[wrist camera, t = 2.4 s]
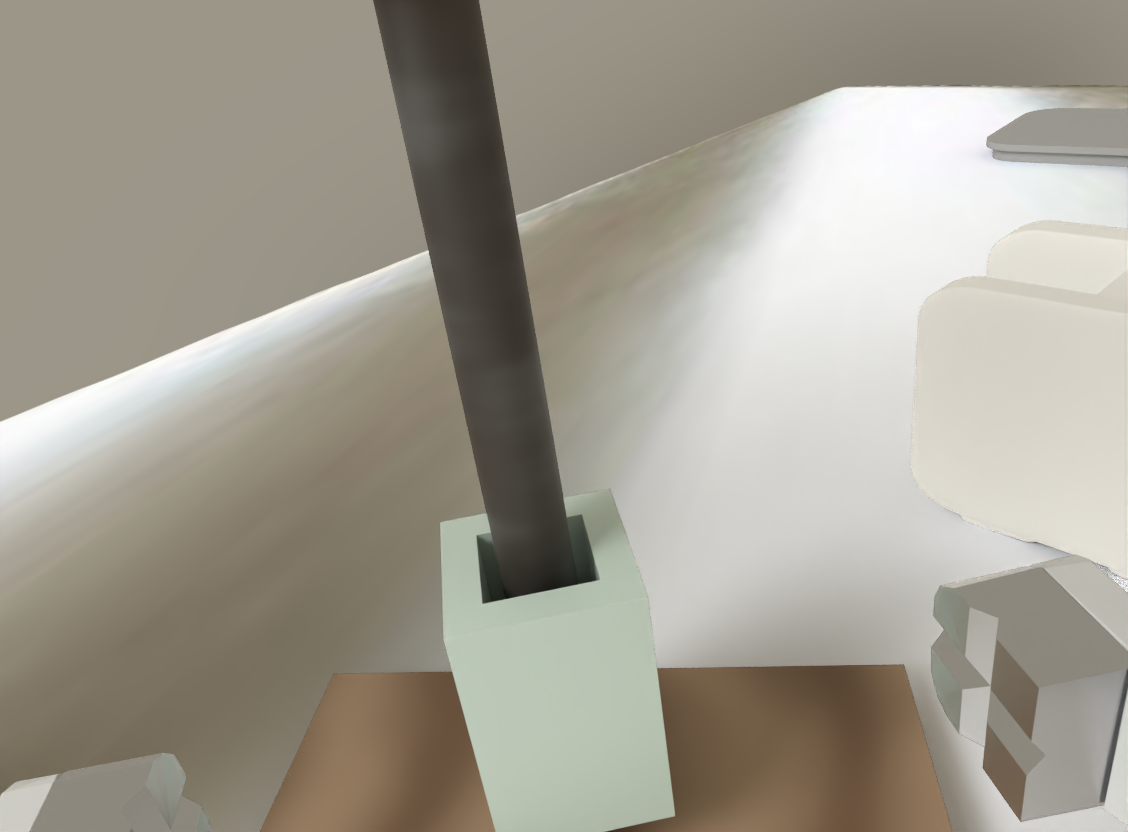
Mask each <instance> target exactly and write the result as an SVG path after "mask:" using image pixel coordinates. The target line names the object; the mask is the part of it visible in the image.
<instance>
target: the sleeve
mask: <svg viewBox="0 0 1128 832" xmlns="http://www.w3.org/2000/svg"><path fill="white" fill-rule="evenodd" d="M564 504H565V510H566V516H567V522H568V528H569V534H570V540H571V545H572V551H573V557H574V563H575V569H576V575H577V581H578V585H573V586H568V587H563V588H558V589H554V590H549V591H544V592H539V593H534V594H529V595H524V596H519V597H514V598H509V599H505V594H504V589H503V585H502V580H501V576H500V571H499V567H498V562H497V558H496V553H495V549H494V544H493V540H492V535H491V531H490V526H489V522H488V517H487V513H484V514H479V515H474V516H469V517H464V518H459V519H454V520H449V521H444V522H440V533H441V569H442V605H443V639H444V643H445V647H446V650H447V654H448V658H449V662H450V665H451V669H452V673H453V676H454V680H455V684H456V687H457V691H458V695H459V698H460V702H461V706H462V710H463V713H464V717H465V721H466V724H467V728H468V732H469V735H470V739H471V743H472V746H473V750H474V754H475V758H476V761H477V765H478V769H479V772H480V776H481V780H482V783H483V787H484V791H485V794H486V798H487V802H488V806H489V809H490V813H491V817H492V820H493V824H494V828H495V831H496V832H605V831H610V830H614V829H619V828H624V827H628V826H633V825H637V824H642V823H646V822H651V821H655V820H660V819H664V818H669V817H673V816H675V810H674V802H673V794H672V786H671V778H670V770H669V762H668V753H667V745H666V737H665V729H664V721H663V713H662V705H661V697H660V689H659V681H658V673H657V665H656V657H655V648H654V640H653V632H652V624H651V616H650V608H649V600H648V595H647V592H646V590H645V587H644V584H643V581H642V578H641V575H640V573H639V570H638V567H637V564H636V561H635V558H634V555H633V553H632V550H631V547H630V544H629V541H628V538H627V535H626V533H625V530H624V527H623V524H622V521H621V518H620V516H619V513H618V510H617V507H616V504H615V501H614V498H613V496H612V493H611V490H610V489H606V490H600V491H595V492H590V493H585V494H580V495H575V496H570V497H565V498H564Z"/></svg>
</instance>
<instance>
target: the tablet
mask: <svg viewBox="0 0 1128 832" xmlns="http://www.w3.org/2000/svg"><path fill="white" fill-rule="evenodd" d="M986 146H987V147H988V148H990V149H993V158H994V159H997V160H1001V161H1010V162H1031V163H1053V164H1076V165H1098V166H1120V167H1128V109H1091V108H1057V109H1044V110H1037V111H1032V112H1028V113H1026V114H1024V115H1022V116H1020V117H1019V118H1017V119H1015V120H1014V121H1012V122H1011V123H1009V124H1007V125H1006V126H1004V127H1003V128H1001V129H999V130H998V131H996V132H995V133H993V134H991V135H990V136H988V137H987V142H986Z"/></svg>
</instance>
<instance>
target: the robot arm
mask: <svg viewBox="0 0 1128 832" xmlns="http://www.w3.org/2000/svg"><path fill="white" fill-rule="evenodd" d="M933 616H934V617H935V618H936V620H937V621H938V622H939V623H940V625H941V626H942V627H943V629H944V631H943V632H942V634H941V635H940V636H939V638H938V639H937V640H936V642H935V643H934V644H933V645H932V647H931V673H932V677H933V681H934V685H935V689H936V692H937V696H938V698H939V700H940V702H941V705H942V707H943V709H944V711H945V713H946V715H947V716H948V718H949V719H950V721H951V722H952V724H953V725H954V727H955V728H956V730H957V731H958V733H959V734H960V735H962V736H964V737H966V738H968V739H970V740H972V741H974V742H976V743H978V744H979V745H981V746H983V747H985V749H984V760H983V769H984V770H985V772H986V773H987V775H988V776H989V777H990V779H991V780H992V782H993V783H994V785H995V786H996V787H997V789H998V790H999V792H1000V793H1001V795H1002V796H1003V797H1004V799H1005V800H1006V802H1007V803H1008V804H1009V806H1010V807H1011V809H1012V810H1013V812H1014V813H1015V814H1016V816H1017V817H1018V819H1019V820H1020V822H1022V821H1027V820H1032V819H1037V818H1042V817H1047V816H1052V815H1057V814H1062V813H1067V812H1072V811H1077V810H1082V809H1087V808H1092V807H1097V806H1102V805H1104V809H1103V810H1105V811H1106V812H1108V813H1109V814H1111V815H1112V816H1114V817H1116V818H1117V819H1119V820H1120V821H1122V822H1123V823H1125V824H1127V825H1128V593H1127V592H1126V591H1125V590H1123V589H1122V588H1121V587H1120V586H1119V585H1118V584H1117V583H1116V582H1114V581H1113V580H1112V579H1111V578H1110V577H1109V576H1108V575H1107V574H1105V573H1104V572H1103V571H1102V570H1101V569H1100V568H1099V567H1097V566H1096V565H1095V564H1094V563H1093V562H1092V561H1091V560H1089V559H1087V558H1084V557H1082V556H1079V555H1072V556H1068V557H1063V558H1059V559H1055V560H1050V561H1046V562H1042V563H1037V564H1033V565H1031V566H1029V567H1021V568H1017V569H1012V570H1008V571H1004V572H999V573H995V574H990V575H986V576H981V577H977V578H972V579H968V580H963V581H959V582H954V583H950V584H945V585H941V586H940V587H939V589H938V591H937V593H936V595H935V598H934V611H933ZM185 780H186V775H185V773H184V771H183V770H182V768H181V766H180V764H179V763H178V761H177V759H176V757H175V756H174V755H173V754H167V753H159V754H154V755H149V756H143V757H138V758H133V759H128V760H122V761H117V762H112V763H107V764H101V765H96V766H91V767H85V768H80V769H75V770H70V771H66V772H65V773H61V774H55V775H50V776H44V777H39V778H33V779H28V780H22V781H17V782H15V783H14V784H13V785H12V786H10V787H9V788H8V789H7V790H5V791H4V792H3V793H2V794H1V796H0V832H212V831H211V827H210V823H209V821H208V818H207V816H206V814H205V812H204V810H203V808H202V806H200V805H198V804H196V803H194V802H193V801H191V800H189V799H187V798H185V797H183V796H181V794H182V791H183V787H184V784H185Z"/></svg>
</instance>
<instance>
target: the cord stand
mask: <svg viewBox="0 0 1128 832" xmlns="http://www.w3.org/2000/svg"><path fill="white" fill-rule="evenodd" d="M373 1H374V6H375V10H376V15H377V19H378V24H379V28H380V33H381V37H382V42H383V47H384V51H385V55H386V60H387V64H388V69H389V73H390V78H391V83H392V87H393V92H394V96H395V101H396V105H397V110H398V114H399V119H400V123H401V128H402V133H403V137H404V142H405V146H406V150H407V155H408V159H409V164H410V169H411V173H412V178H413V182H414V187H415V191H416V196H417V200H418V205H419V209H420V214H421V218H422V223H423V227H424V232H425V237H426V241H427V245H428V250H429V255H430V259H431V264H432V268H433V273H434V277H435V282H436V286H437V291H438V295H439V300H440V304H441V309H442V314H443V318H444V323H445V327H446V332H447V336H448V341H449V345H450V350H451V354H452V359H453V363H454V368H455V372H456V377H457V381H458V386H459V390H460V395H461V399H462V404H463V409H464V413H465V418H466V422H467V427H468V431H469V436H470V440H471V445H472V449H473V454H474V458H475V463H476V467H477V472H478V476H479V481H480V485H481V490H482V494H483V499H484V504H485V508H486V513H487V517H488V522H489V526H490V531H491V535H492V540H493V544H494V549H495V553H496V558H497V562H498V567H499V571H500V576H501V580H502V585H503V589H504V594H505V599H509V598H514V597H519V596H524V595H529V594H534V593H539V592H544V591H549V590H554V589H558V588H563V587H568V586H573V585H578V581H577V575H576V569H575V563H574V557H573V551H572V545H571V540H570V534H569V528H568V522H567V516H566V510H565V504H564V498H563V492H562V487H561V481H560V475H559V469H558V463H557V457H556V451H555V445H554V439H553V434H552V428H551V422H550V416H549V410H548V404H547V398H546V392H545V387H544V381H543V375H542V369H541V363H540V357H539V351H538V345H537V339H536V334H535V328H534V322H533V316H532V310H531V304H530V298H529V292H528V286H527V281H526V275H525V269H524V263H523V257H522V251H521V245H520V239H519V234H518V228H517V222H516V216H515V210H514V204H513V198H512V192H511V186H510V181H509V175H508V169H507V163H506V158H505V152H504V145H503V140H502V134H501V128H500V122H499V116H498V110H497V105H496V98H495V93H494V86H493V81H492V75H491V69H490V63H489V57H488V51H487V45H486V39H485V34H484V28H483V22H482V16H481V10H480V4H479V0H373ZM657 673H658V681H659V689H660V697H661V705H662V713H663V721H664V729H665V737H666V745H667V753H668V762H669V770H670V778H671V786H672V794H673V802H674V810H675V816H673V817H669V818H664V819H660V820H655V821H651V822H646V823H642V824H637V825H633V826H628V827H624V828H619V829H614V830H610V831H605V832H952V829H951V825H950V822H949V818H948V815H947V811H946V808H945V805H944V801H943V798H942V794H941V791H940V787H939V784H938V780H937V777H936V774H935V770H934V767H933V763H932V760H931V756H930V753H929V749H928V746H927V743H926V739H925V736H924V732H923V729H922V725H921V722H920V718H919V715H918V711H917V708H916V705H915V701H914V698H913V694H912V691H911V687H910V684H909V680H908V677H907V674H906V670H905V667H904V665H844V666H782V667H720V668H658V669H657ZM260 832H496V831H495V828H494V824H493V820H492V817H491V813H490V809H489V806H488V802H487V798H486V794H485V791H484V787H483V783H482V780H481V776H480V772H479V769H478V765H477V761H476V758H475V754H474V750H473V746H472V743H471V739H470V735H469V732H468V728H467V724H466V721H465V717H464V713H463V710H462V706H461V702H460V698H459V695H458V691H457V687H456V684H455V680H454V676H453V673H452V672H410V673H348V674H333V676H332V679H331V681H330V683H329V685H328V687H327V689H326V691H325V694H324V696H323V698H322V700H321V702H320V704H319V706H318V708H317V711H316V713H315V715H314V717H313V719H312V721H311V723H310V726H309V728H308V730H307V732H306V734H305V736H304V738H303V741H302V743H301V745H300V747H299V749H298V751H297V753H296V756H295V758H294V760H293V762H292V764H291V766H290V768H289V770H288V773H287V775H286V777H285V779H284V781H283V783H282V785H281V788H280V790H279V792H278V794H277V796H276V798H275V800H274V803H273V805H272V807H271V809H270V811H269V813H268V815H267V817H266V820H265V822H264V824H263V826H262V828H261V830H260Z"/></svg>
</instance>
